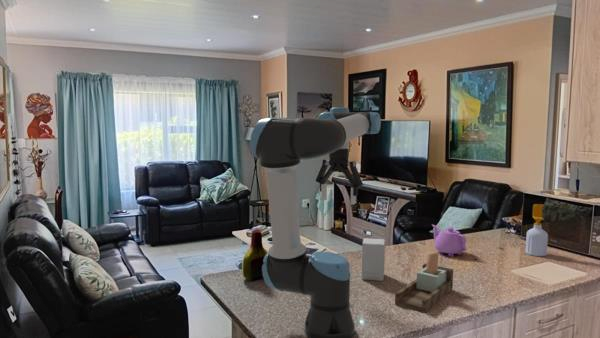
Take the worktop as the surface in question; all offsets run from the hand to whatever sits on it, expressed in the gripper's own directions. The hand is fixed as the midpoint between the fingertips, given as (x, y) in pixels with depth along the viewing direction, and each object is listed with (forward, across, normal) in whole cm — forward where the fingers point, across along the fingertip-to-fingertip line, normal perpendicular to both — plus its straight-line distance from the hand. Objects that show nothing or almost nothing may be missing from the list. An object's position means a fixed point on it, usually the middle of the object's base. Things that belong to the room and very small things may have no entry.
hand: (338, 202), depth 176 cm
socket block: (+30, -34, -12) cm, 47 cm away
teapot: (+32, -21, -66) cm, 76 cm away
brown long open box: (+32, -34, -6) cm, 47 cm away
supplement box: (+32, -9, -13) cm, 36 cm away
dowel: (+28, -34, -12) cm, 46 cm away
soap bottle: (+32, -55, -91) cm, 111 cm away
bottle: (+32, +27, +18) cm, 46 cm away
